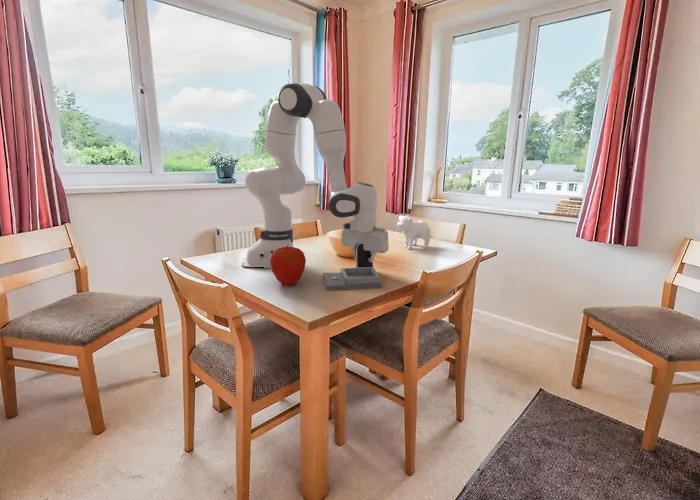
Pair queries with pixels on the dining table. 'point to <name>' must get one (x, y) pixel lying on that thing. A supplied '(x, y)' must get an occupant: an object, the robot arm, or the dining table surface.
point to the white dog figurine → (414, 231)
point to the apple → (288, 264)
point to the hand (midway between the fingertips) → (363, 260)
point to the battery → (362, 256)
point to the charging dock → (353, 279)
